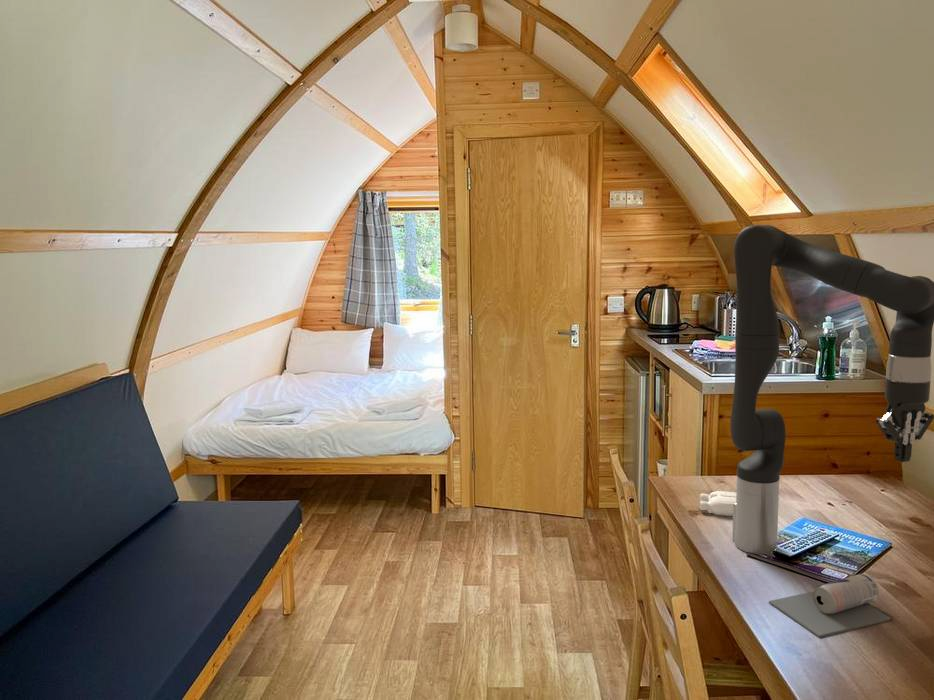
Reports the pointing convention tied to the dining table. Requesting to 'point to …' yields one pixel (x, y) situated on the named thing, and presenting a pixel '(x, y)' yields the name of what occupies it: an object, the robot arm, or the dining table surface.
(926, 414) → the robot arm
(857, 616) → the rubber mat
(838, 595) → the energy drink
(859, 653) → the dining table surface
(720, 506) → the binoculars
